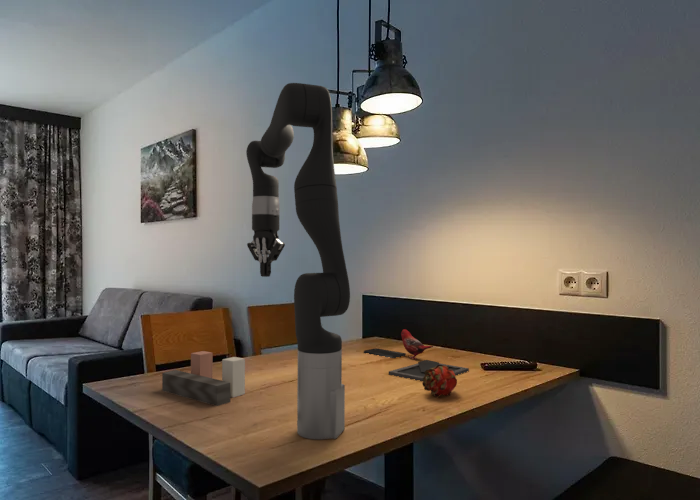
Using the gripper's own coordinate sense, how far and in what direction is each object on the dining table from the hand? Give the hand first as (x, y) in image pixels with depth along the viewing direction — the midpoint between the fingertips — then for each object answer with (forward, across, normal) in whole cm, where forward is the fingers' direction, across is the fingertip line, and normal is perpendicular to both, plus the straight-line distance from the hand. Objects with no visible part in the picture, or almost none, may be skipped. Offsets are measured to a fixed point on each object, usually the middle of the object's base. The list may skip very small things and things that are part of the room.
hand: (265, 276), depth 141 cm
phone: (+32, 0, +61) cm, 68 cm away
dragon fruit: (+31, +41, +24) cm, 57 cm away
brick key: (+30, -12, -12) cm, 34 cm away
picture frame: (+32, +27, +44) cm, 61 cm away
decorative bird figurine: (+31, +15, +59) cm, 68 cm away
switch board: (+31, -5, -15) cm, 35 cm away
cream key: (+30, +1, -12) cm, 32 cm away
